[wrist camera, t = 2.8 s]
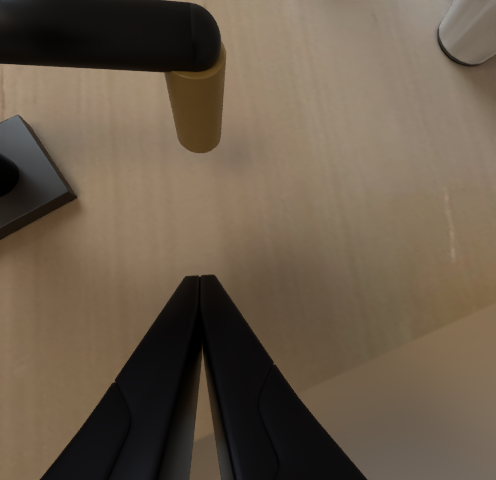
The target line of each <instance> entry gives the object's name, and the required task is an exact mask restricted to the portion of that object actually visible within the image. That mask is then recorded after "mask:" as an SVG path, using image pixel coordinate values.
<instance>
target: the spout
mask: <svg viewBox="0 0 496 480" xmlns="http://www.w3.org/2000/svg"><path fill="white" fill-rule="evenodd" d="M0 64H17V65H36V66H55V67H74V68H92V69H111V70H130V71H149V72H164V74H165V79H166V83H167V88H168V93H169V98H170V103H171V108H172V112H173V117H174V122H175V127H176V132H177V136H178V140H179V142H180V143H181V144H182V146H183V147H185V148H186V149H187V150H189V151H191V152H195V153H206V152H209V151H211V150H212V149H214V148H215V147H216V146H217V145H218V143H219V141H220V138H221V125H222V110H223V95H224V80H225V64H226V51H225V47H224V45H223V43H222V41H221V35H220V31H219V28H218V25H217V23H216V21H215V19H214V18H213V16H212V15H211V14H210V13H209V12H208V11H207V10H206V9H205V8H203V7H202V6H200V5H197V4H194V3H188V2H177V1H166V0H0Z"/></svg>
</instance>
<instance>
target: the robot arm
mask: <svg viewBox="0 0 496 480" xmlns="http://www.w3.org/2000/svg"><path fill="white" fill-rule="evenodd" d="M202 346H203V357H204V365H205V371H206V378H207V385H208V392H209V399H210V406H211V413H212V420H213V426H214V433H215V440H216V447H217V454H218V461H219V468H220V475H221V480H367V479H366V477H365V476H364V475H363V474H362V473H361V472H360V470H359V469H358V468H357V467H356V466H355V464H354V463H353V462H352V461H351V460H350V459H349V457H348V456H347V455H346V454H345V453H344V452H343V450H342V449H341V448H340V447H339V446H338V444H337V443H336V442H335V441H334V440H333V439H332V438H331V436H330V435H329V434H328V433H327V432H326V430H325V429H324V428H323V427H322V426H321V424H320V423H319V422H318V421H317V420H316V419H315V417H314V416H313V415H312V414H311V412H310V411H309V410H308V409H307V407H306V406H305V405H304V404H303V402H302V401H301V400H300V399H299V398H298V396H297V395H296V393H295V392H294V390H293V389H292V388H291V386H290V385H289V383H288V382H287V381H286V379H285V378H284V376H283V375H282V373H281V372H280V371H279V369H278V368H277V366H276V365H273V364H274V362H273V360H272V359H271V357H270V356H269V354H268V353H267V352H266V350H265V349H264V347H263V346H262V344H261V343H260V341H259V340H258V338H257V337H256V335H255V334H254V332H253V331H252V329H251V328H250V326H249V325H248V323H247V322H246V320H245V319H244V317H243V316H242V314H241V313H240V311H239V310H238V309H237V307H236V306H235V304H234V303H233V301H232V300H231V298H230V297H229V295H228V294H227V292H226V291H225V289H224V288H223V286H222V285H221V283H220V282H219V280H218V279H217V277H216V276H215V275H202V276H201V277H199V276H198V275H196V276H186V277H184V279H183V280H182V282H181V283H180V285H179V286H178V288H177V289H176V291H175V292H174V293H173V295H172V296H171V298H170V299H169V301H168V302H167V304H166V305H165V307H164V308H163V310H162V311H161V313H160V314H159V316H158V317H157V318H156V320H155V321H154V323H153V324H152V326H151V327H150V329H149V330H148V332H147V333H146V335H145V336H144V338H143V339H142V341H141V342H140V343H139V345H138V346H137V348H136V349H135V351H134V352H133V354H132V355H131V357H130V358H129V360H128V361H127V363H126V364H125V366H124V367H123V368H122V370H121V371H120V373H119V374H118V376H117V377H116V379H115V382H116V383H112V384H111V386H110V387H109V389H108V390H107V392H106V393H105V395H104V396H103V398H102V399H101V401H100V402H99V403H98V405H97V406H96V408H95V409H94V410H93V412H92V413H91V415H90V416H89V417H88V419H87V420H86V422H85V423H84V424H83V426H82V427H81V428H80V430H79V431H78V432H77V434H76V435H75V436H74V437H73V439H72V440H71V441H70V442H69V444H68V445H67V446H66V448H65V449H64V450H63V451H62V453H61V454H60V455H59V456H58V458H57V459H56V460H55V462H54V463H53V464H52V465H51V466H50V468H49V469H48V470H47V471H46V473H45V474H44V475H43V476H42V478H41V479H40V480H189V477H190V476H189V475H190V467H191V458H192V448H193V439H194V429H195V420H196V410H197V400H198V391H199V381H200V372H201V362H202Z"/></svg>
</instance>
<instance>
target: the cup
mask: <svg viewBox="0 0 496 480" xmlns="http://www.w3.org/2000/svg"><path fill="white" fill-rule="evenodd" d="M438 41H439V43H440V45H441V48H442V49H443V50H444V52H445V53H446V54H447V55H448V56H449V57H450V58H452V59H453V60H455V61H456V62H458V63H461V64H464V65H468V66H470V65H478V64H480V63H482V62H484V61H486V60H487V59H489V58H491V57H492V56H494V55H496V0H454V2H453V4H452V6H451V7H450V9H449V11H448V12H447V14H446V16H445V17H444V19H443V21H442V23H441V25H440V26H439V29H438Z"/></svg>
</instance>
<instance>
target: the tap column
mask: <svg viewBox="0 0 496 480" xmlns="http://www.w3.org/2000/svg"><path fill="white" fill-rule="evenodd" d="M76 197H77V196H76V195H75V193H74V192H73V190H72V189H71V187H70V186H69V184H68V183H67V181H66V180H65V178H64V177H63V175H62V174H61V172H60V171H59V169H58V168H57V166H56V165H55V163H54V162H53V160H52V159H51V157H50V156H49V154H48V153H47V151H46V150H45V148H44V147H43V145H42V143H41V142H40V140H39V139H38V137H37V136H36V134H35V133H34V131H33V130H32V128H31V127H30V125H29V124H28V123H27V122H26V121H25V120H24V119H23V118H21V117H20V116H19V115H16V116H14V117H12V118H9V119H7V120H5V121H3V122H0V239H1V238H3V237H5V236H7V235H8V234H10V233H12V232H14V231H16V230H18V229H19V228H21V227H23V226H25V225H27V224H29V223H31V222H32V221H34V220H36V219H38V218H40V217H42V216H43V215H45V214H47V213H49V212H51V211H53V210H54V209H56V208H58V207H60V206H62V205H64V204H66V203H67V202H69V201H71V200H73V199H75V198H76Z"/></svg>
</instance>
